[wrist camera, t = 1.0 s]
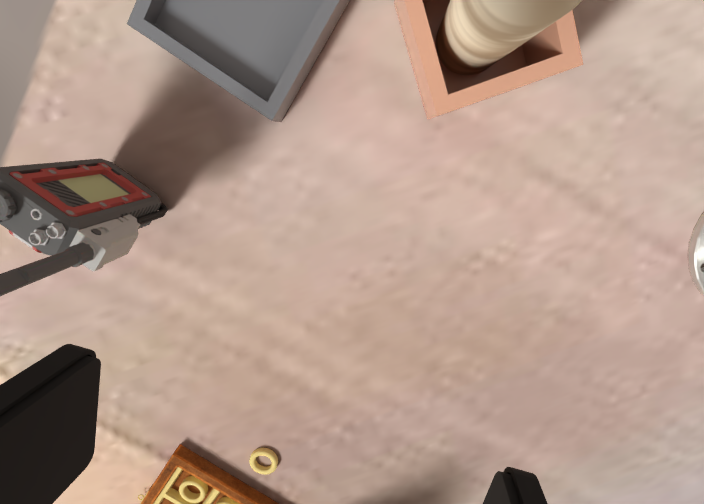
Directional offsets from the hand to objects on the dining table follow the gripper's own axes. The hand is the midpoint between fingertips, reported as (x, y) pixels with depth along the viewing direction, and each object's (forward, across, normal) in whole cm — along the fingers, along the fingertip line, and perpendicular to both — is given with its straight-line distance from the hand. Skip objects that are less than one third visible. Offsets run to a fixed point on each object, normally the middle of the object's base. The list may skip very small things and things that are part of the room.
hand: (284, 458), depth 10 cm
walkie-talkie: (+29, +21, +4) cm, 36 cm away
